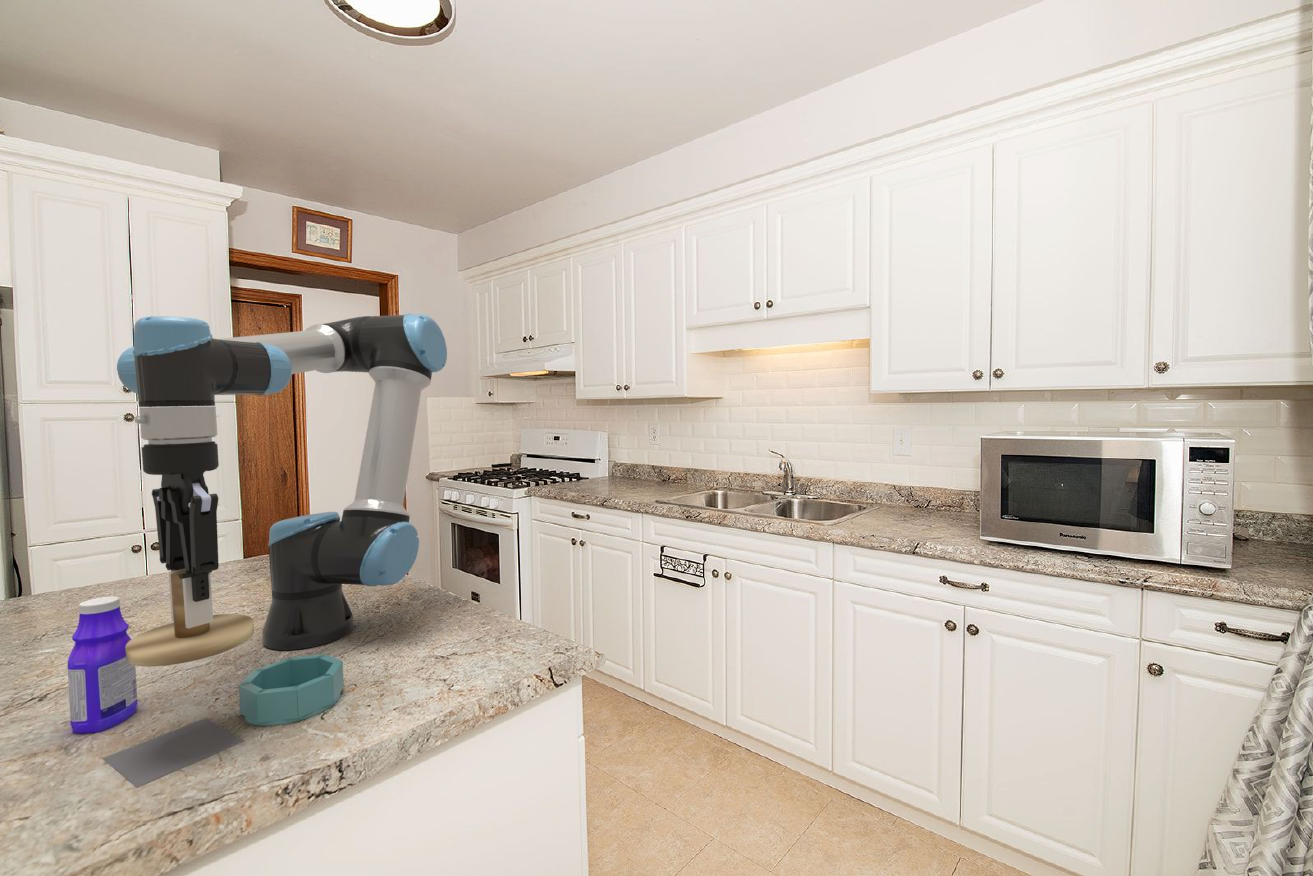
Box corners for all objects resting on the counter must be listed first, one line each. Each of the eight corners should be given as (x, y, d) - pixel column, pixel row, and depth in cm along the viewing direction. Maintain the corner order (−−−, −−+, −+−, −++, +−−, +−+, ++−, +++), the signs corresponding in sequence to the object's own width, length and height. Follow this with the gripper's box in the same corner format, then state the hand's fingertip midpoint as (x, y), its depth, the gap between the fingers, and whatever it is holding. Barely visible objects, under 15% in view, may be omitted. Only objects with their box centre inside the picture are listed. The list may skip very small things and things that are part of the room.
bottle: (106, 710, 86) (98, 593, 85) (148, 708, 86) (141, 591, 85) (60, 739, 78) (51, 610, 77) (106, 736, 79) (97, 608, 78)
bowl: (228, 713, 84) (226, 679, 84) (313, 680, 95) (312, 649, 94) (271, 737, 78) (269, 700, 78) (357, 698, 88) (356, 666, 88)
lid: (110, 651, 74) (104, 577, 74) (227, 618, 85) (223, 553, 85) (149, 676, 68) (143, 595, 67) (272, 636, 79) (268, 566, 78)
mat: (102, 761, 73) (102, 758, 73) (206, 720, 83) (206, 717, 83) (137, 790, 68) (137, 787, 68) (244, 743, 77) (244, 740, 77)
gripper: (118, 441, 76) (131, 618, 78) (170, 445, 67) (184, 645, 69) (188, 437, 82) (199, 601, 84) (244, 440, 74) (255, 624, 75)
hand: (192, 620), depth 76 cm, fingers closed on lid, 3 cm apart
